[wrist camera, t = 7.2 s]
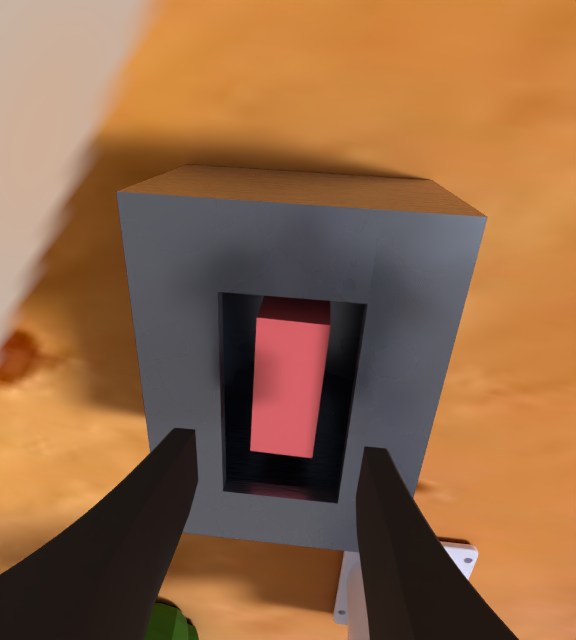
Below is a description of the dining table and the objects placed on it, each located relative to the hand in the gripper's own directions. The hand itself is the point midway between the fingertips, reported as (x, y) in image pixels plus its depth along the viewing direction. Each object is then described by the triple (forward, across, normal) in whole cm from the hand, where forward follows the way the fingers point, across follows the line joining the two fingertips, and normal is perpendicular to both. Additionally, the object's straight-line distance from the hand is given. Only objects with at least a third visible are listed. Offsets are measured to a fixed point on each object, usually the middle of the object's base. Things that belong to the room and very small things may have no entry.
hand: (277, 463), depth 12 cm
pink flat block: (+8, 0, 0) cm, 9 cm away
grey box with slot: (+9, 0, 0) cm, 9 cm away
